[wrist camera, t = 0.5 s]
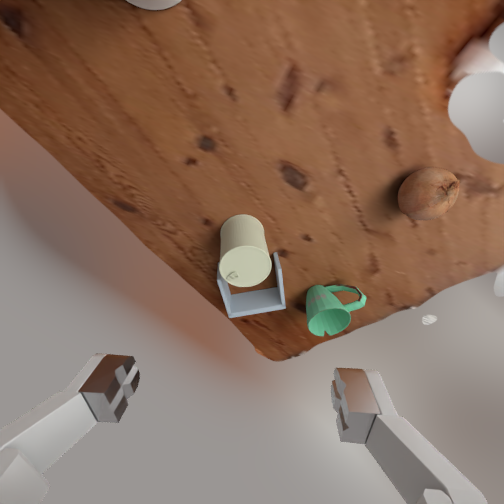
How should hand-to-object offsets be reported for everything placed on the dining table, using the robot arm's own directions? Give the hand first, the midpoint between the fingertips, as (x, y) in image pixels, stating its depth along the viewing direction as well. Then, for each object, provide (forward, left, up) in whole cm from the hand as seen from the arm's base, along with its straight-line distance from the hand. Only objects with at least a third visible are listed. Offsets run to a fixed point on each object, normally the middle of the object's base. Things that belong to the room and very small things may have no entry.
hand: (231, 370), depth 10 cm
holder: (+29, -1, -39) cm, 48 cm away
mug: (+37, +17, -39) cm, 56 cm away
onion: (+13, +34, -39) cm, 53 cm away
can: (+17, -1, -39) cm, 42 cm away
